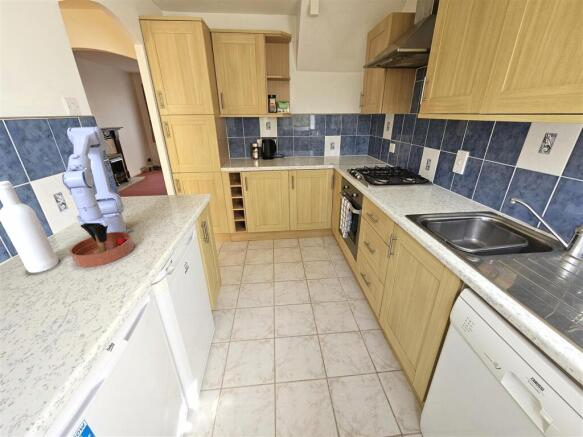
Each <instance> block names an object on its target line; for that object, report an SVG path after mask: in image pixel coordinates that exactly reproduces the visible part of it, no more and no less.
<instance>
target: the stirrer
mask: <svg viewBox="0 0 583 437" xmlns="http://www.w3.org/2000/svg"><path fill="white" fill-rule="evenodd" d="M95 237H96V235H95ZM96 241H97V245H98V249H97V250H95V251H94V252H93V253H94V254H98V253H102V252H105V251H109V250H111V249H112V248H110V247H106V245H105V242H102V243H100V242H99V240H98V239H97V237H96Z"/></svg>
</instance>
